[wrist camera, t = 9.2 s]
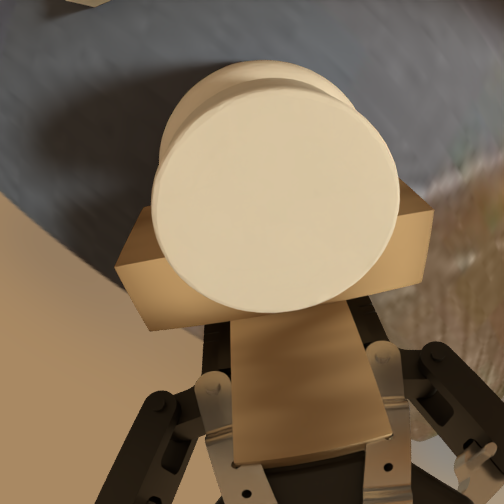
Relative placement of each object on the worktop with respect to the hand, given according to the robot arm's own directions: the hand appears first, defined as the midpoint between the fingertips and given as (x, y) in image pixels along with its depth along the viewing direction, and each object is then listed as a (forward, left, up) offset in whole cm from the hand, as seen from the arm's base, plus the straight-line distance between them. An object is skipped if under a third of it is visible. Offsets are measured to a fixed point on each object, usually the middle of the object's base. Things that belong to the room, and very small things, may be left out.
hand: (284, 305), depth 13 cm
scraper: (0, -1, -2) cm, 2 cm away
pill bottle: (0, -7, -3) cm, 8 cm away
